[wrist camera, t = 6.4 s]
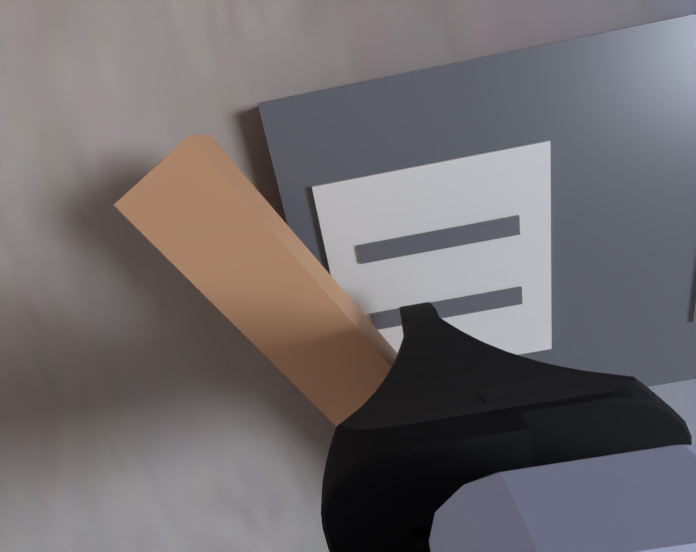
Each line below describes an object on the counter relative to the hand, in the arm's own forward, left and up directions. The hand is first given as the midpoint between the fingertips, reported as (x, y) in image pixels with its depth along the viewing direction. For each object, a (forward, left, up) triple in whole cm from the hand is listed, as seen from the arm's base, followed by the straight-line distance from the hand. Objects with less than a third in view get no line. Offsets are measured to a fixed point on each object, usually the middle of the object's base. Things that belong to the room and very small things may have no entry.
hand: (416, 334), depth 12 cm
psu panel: (+1, -7, -3) cm, 8 cm away
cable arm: (-1, +2, 0) cm, 2 cm away
